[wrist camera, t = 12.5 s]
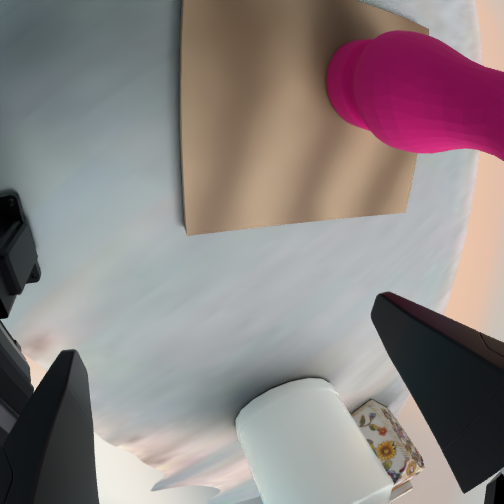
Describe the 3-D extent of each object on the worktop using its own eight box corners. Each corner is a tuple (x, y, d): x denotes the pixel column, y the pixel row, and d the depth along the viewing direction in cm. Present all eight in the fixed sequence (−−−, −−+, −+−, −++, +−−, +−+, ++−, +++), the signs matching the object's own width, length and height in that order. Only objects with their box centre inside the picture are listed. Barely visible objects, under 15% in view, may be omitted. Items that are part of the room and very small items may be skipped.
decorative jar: (388, 407, 52) (434, 474, 37) (342, 440, 53) (381, 508, 39) (371, 397, 45) (426, 479, 30) (316, 435, 47) (361, 518, 32)
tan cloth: (184, 227, 20) (187, 235, 19) (183, -20, 12) (185, -26, 11) (396, 207, 25) (405, 212, 24) (418, 29, 17) (428, 29, 16)
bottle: (214, 410, 32) (303, 627, 10) (324, 358, 33) (452, 560, 11) (253, 443, 41) (324, 597, 18) (337, 403, 42) (426, 550, 19)
